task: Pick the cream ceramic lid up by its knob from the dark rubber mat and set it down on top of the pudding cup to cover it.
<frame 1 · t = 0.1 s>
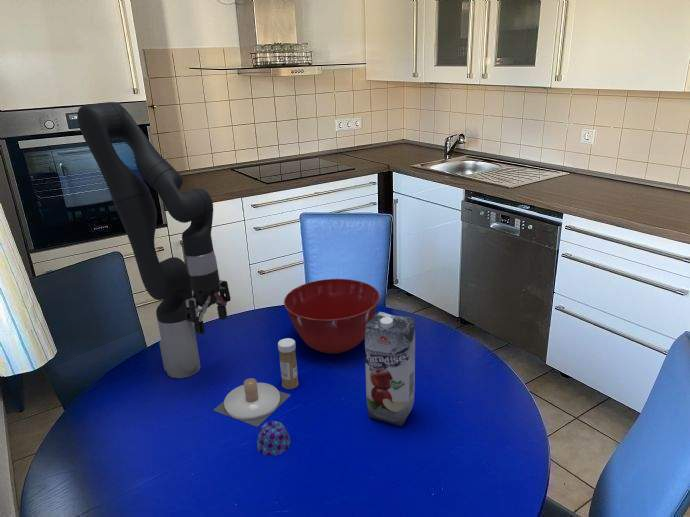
hand: (212, 326, 140), 17 cm above the table, tool pointing down, fingers open, 8 cm apart
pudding: (274, 447, 121), on the table
sprinkles bottle: (290, 386, 143), on the table
lid: (252, 402, 136), point 1 cm above the table, touching mat
mat: (252, 404, 136), on the table
mixing bowl: (334, 342, 164), on the table
juice carton: (390, 414, 130), on the table
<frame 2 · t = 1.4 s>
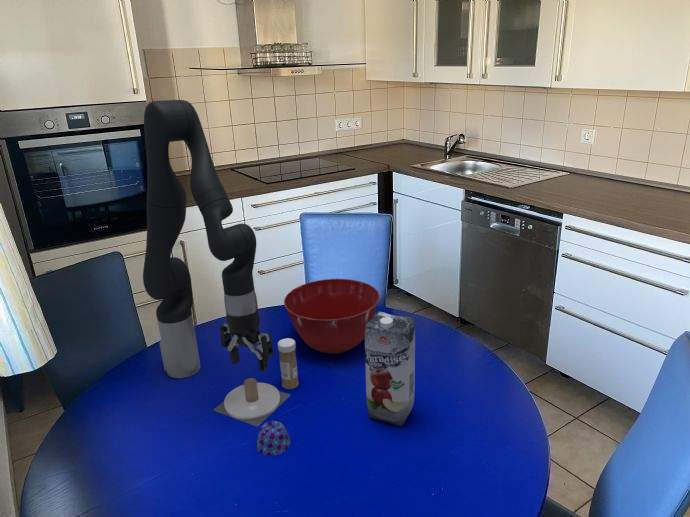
hand: (249, 366, 132), 11 cm above the table, tool pointing down, fingers open, 8 cm apart
nothing on the table moved.
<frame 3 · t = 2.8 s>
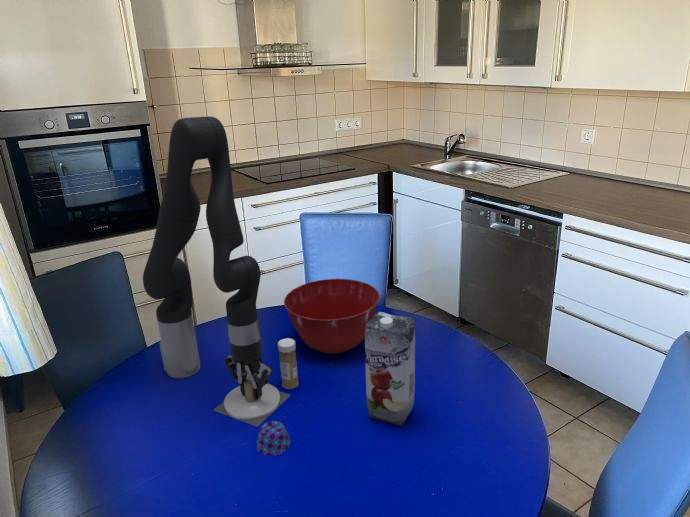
hand: (251, 396, 135), 3 cm above the table, tool pointing down, fingers closed on lid, 3 cm apart
lid: (252, 402, 136), point 1 cm above the table, touching gripper, mat
everything else where it was.
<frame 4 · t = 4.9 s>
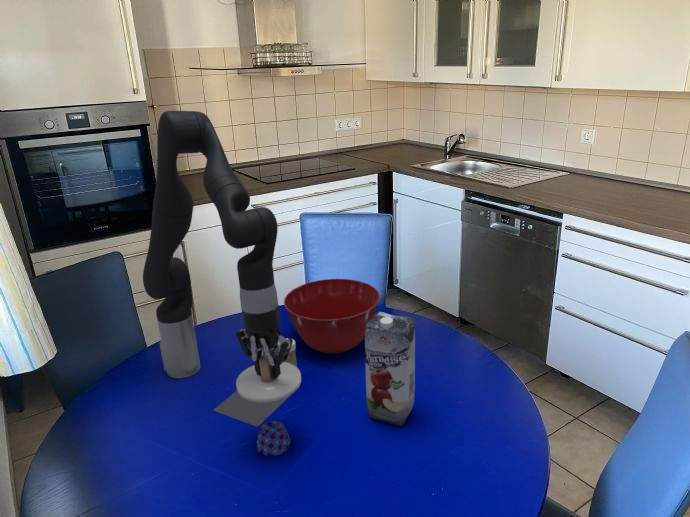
hand: (268, 375, 116), 18 cm above the table, tool pointing down, fingers closed on lid, 3 cm apart
lid: (269, 383, 116), point 16 cm above the table, touching gripper
everything else where it was.
when the fingers open (8 cm above the table, at t = 7.0 s): lid drops 1 cm, resting on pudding.
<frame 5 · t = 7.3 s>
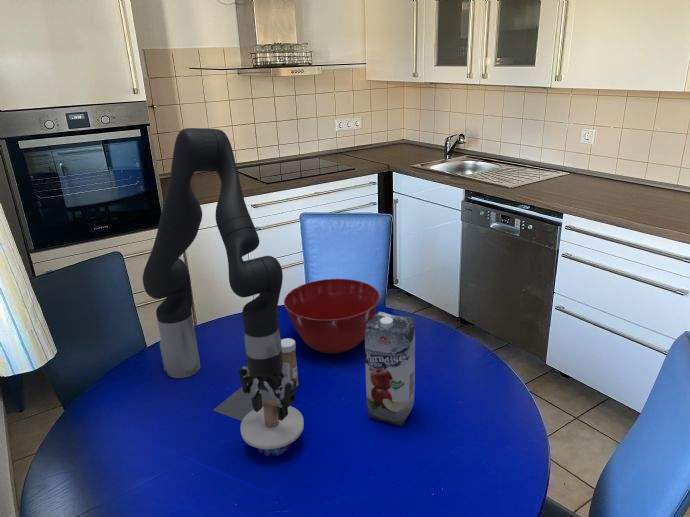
hand: (270, 413, 118), 9 cm above the table, tool pointing down, fingers open, 6 cm apart
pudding: (274, 447, 121), on the table, touching lid
lid: (272, 427, 120), point 5 cm above the table, touching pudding
everything else where it was.
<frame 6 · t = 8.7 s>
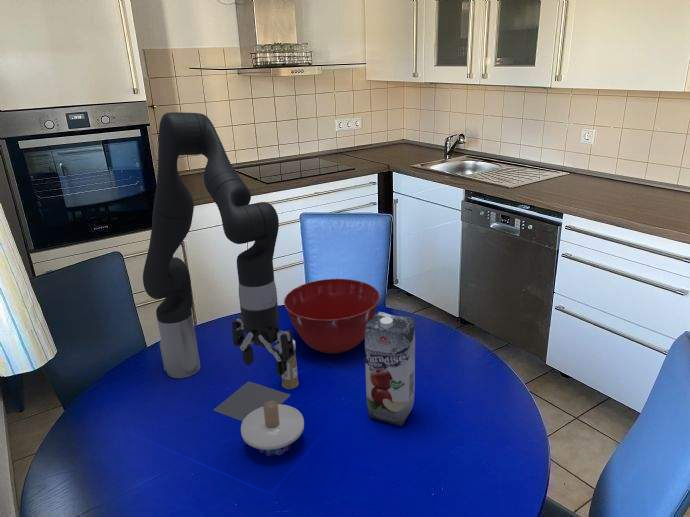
hand: (265, 368, 114), 21 cm above the table, tool pointing down, fingers open, 8 cm apart
nothing on the table moved.
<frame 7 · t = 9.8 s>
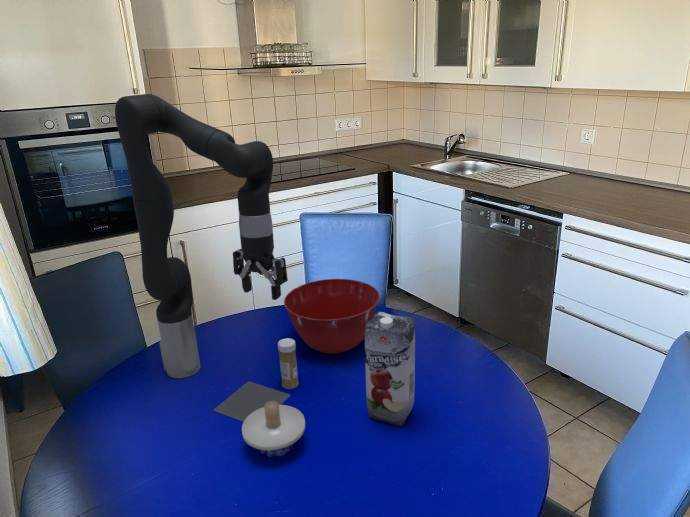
hand: (261, 295, 128), 29 cm above the table, tool pointing down, fingers open, 8 cm apart
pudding: (276, 448, 121), on the table
lid: (274, 428, 119), point 5 cm above the table
everything else where it was.
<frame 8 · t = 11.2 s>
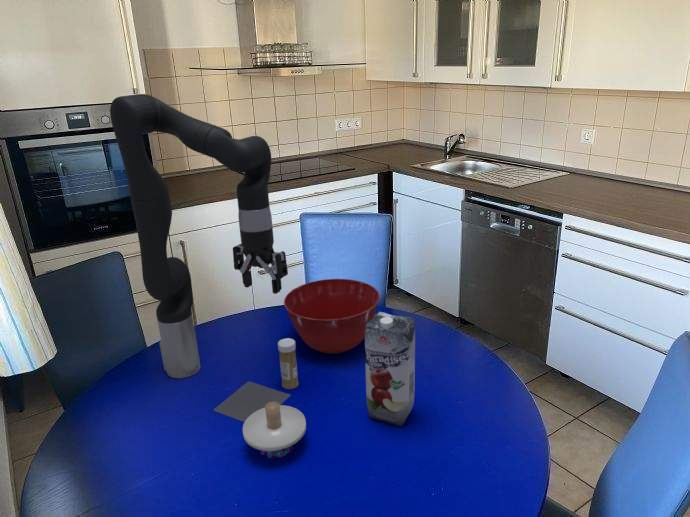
hand: (262, 289, 129), 30 cm above the table, tool pointing down, fingers open, 8 cm apart
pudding: (276, 449, 121), on the table, touching lid
lid: (274, 429, 119), point 5 cm above the table, touching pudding
everything else where it was.
at the end: lid 0.5 cm from the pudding (horizontally); lid point 4.8 cm above the table; the gripper is holding nothing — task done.
